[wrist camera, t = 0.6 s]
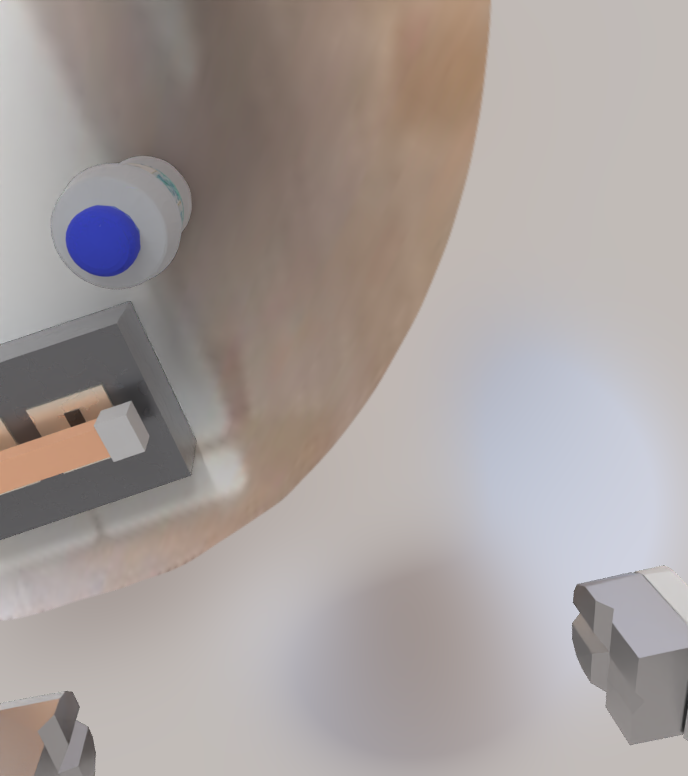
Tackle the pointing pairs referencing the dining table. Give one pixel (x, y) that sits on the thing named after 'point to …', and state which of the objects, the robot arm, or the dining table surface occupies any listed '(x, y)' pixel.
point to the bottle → (121, 221)
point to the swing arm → (74, 447)
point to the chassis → (88, 413)
